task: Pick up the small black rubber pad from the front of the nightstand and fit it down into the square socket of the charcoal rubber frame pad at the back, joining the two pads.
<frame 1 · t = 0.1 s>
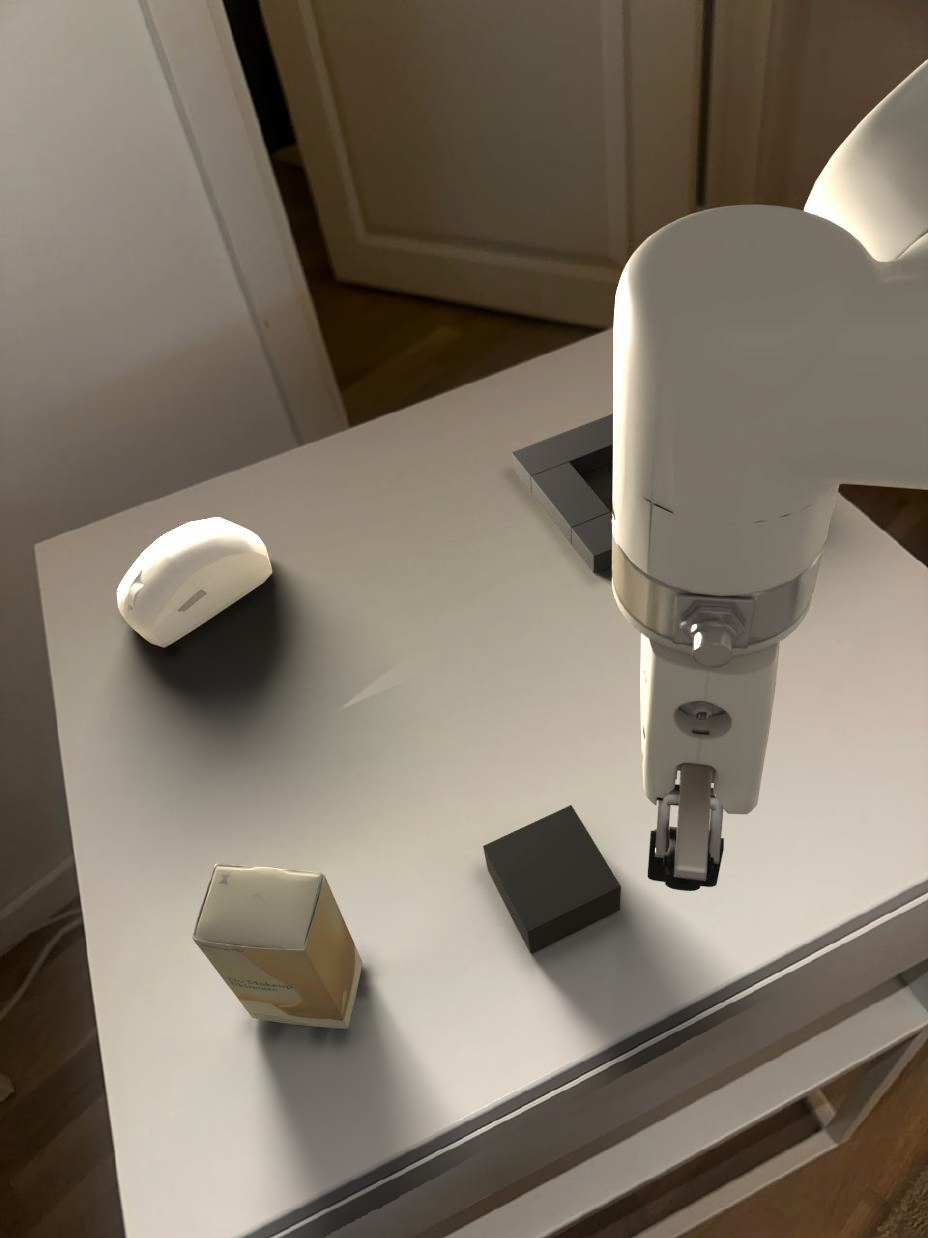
hand: (684, 789, 49), 14 cm above the nightstand, tool pointing down, fingers open, 9 cm apart
computer mouse: (203, 595, 81), on the nightstand
black pad: (552, 890, 61), on the nightstand
frame pad: (627, 488, 84), on the nightstand
cosmetic box: (311, 990, 58), on the nightstand
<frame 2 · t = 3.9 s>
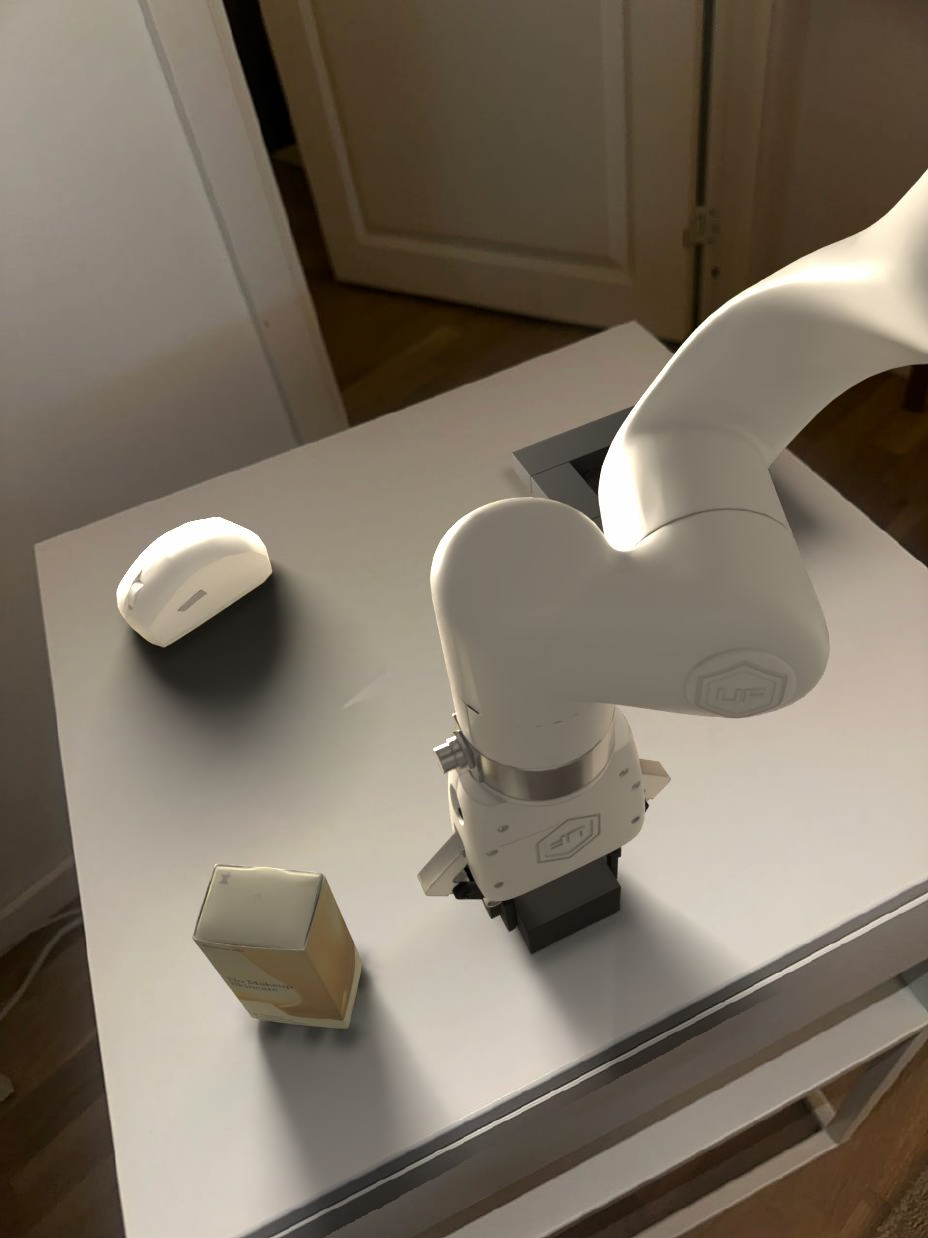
hand: (552, 884, 60), 1 cm above the nightstand, tool pointing down, fingers closed on black pad, 6 cm apart
black pad: (552, 890, 61), on the nightstand, touching gripper
everything else where it was.
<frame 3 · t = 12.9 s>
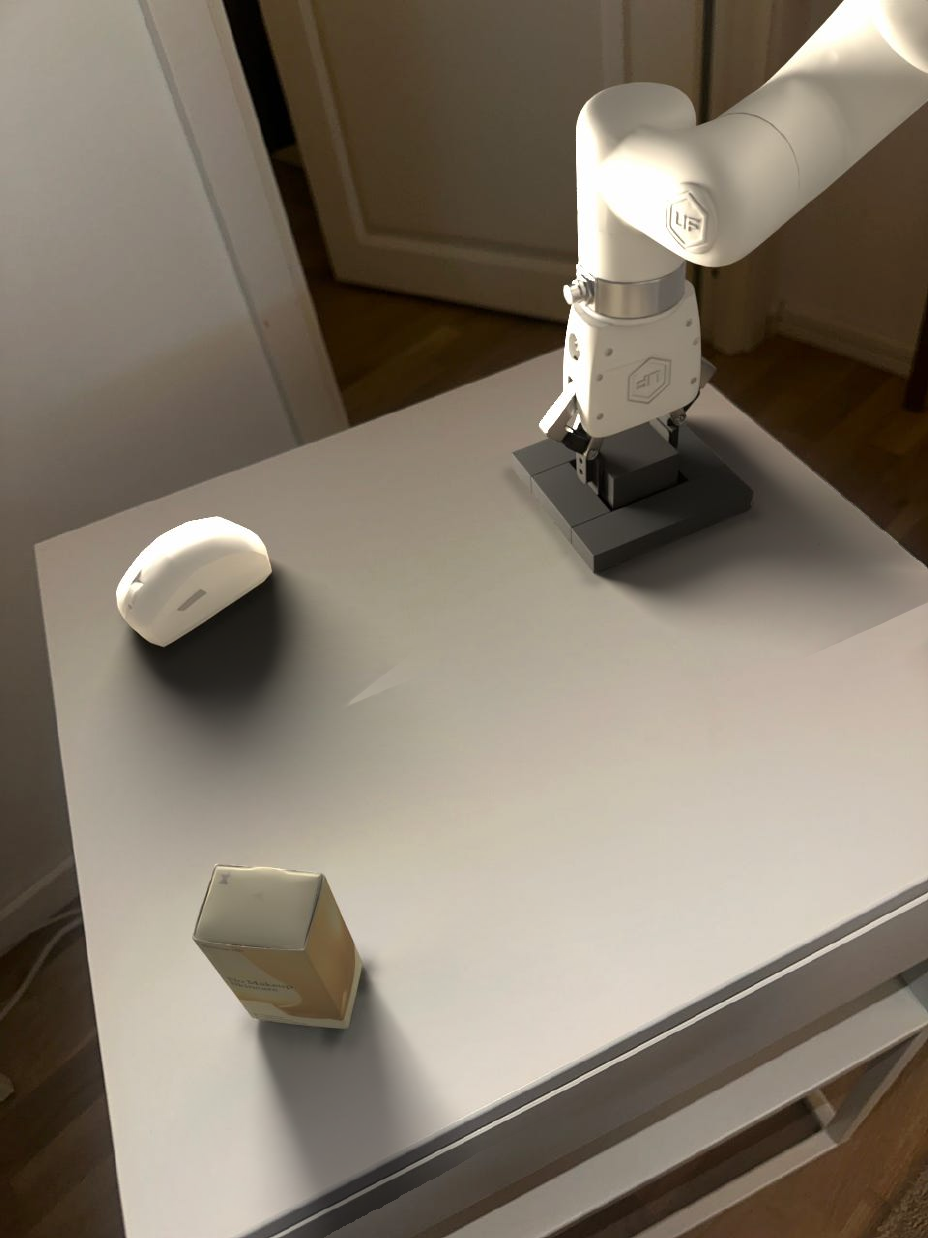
hand: (627, 468, 82), 2 cm above the nightstand, tool pointing down, fingers closed on black pad, 6 cm apart
black pad: (626, 475, 83), point 1 cm above the nightstand, touching gripper
everything else where it was.
when the fingers open (3 cm above the nightstand, at t = 18.4 s): black pad drops 2 cm, resting in frame pad.
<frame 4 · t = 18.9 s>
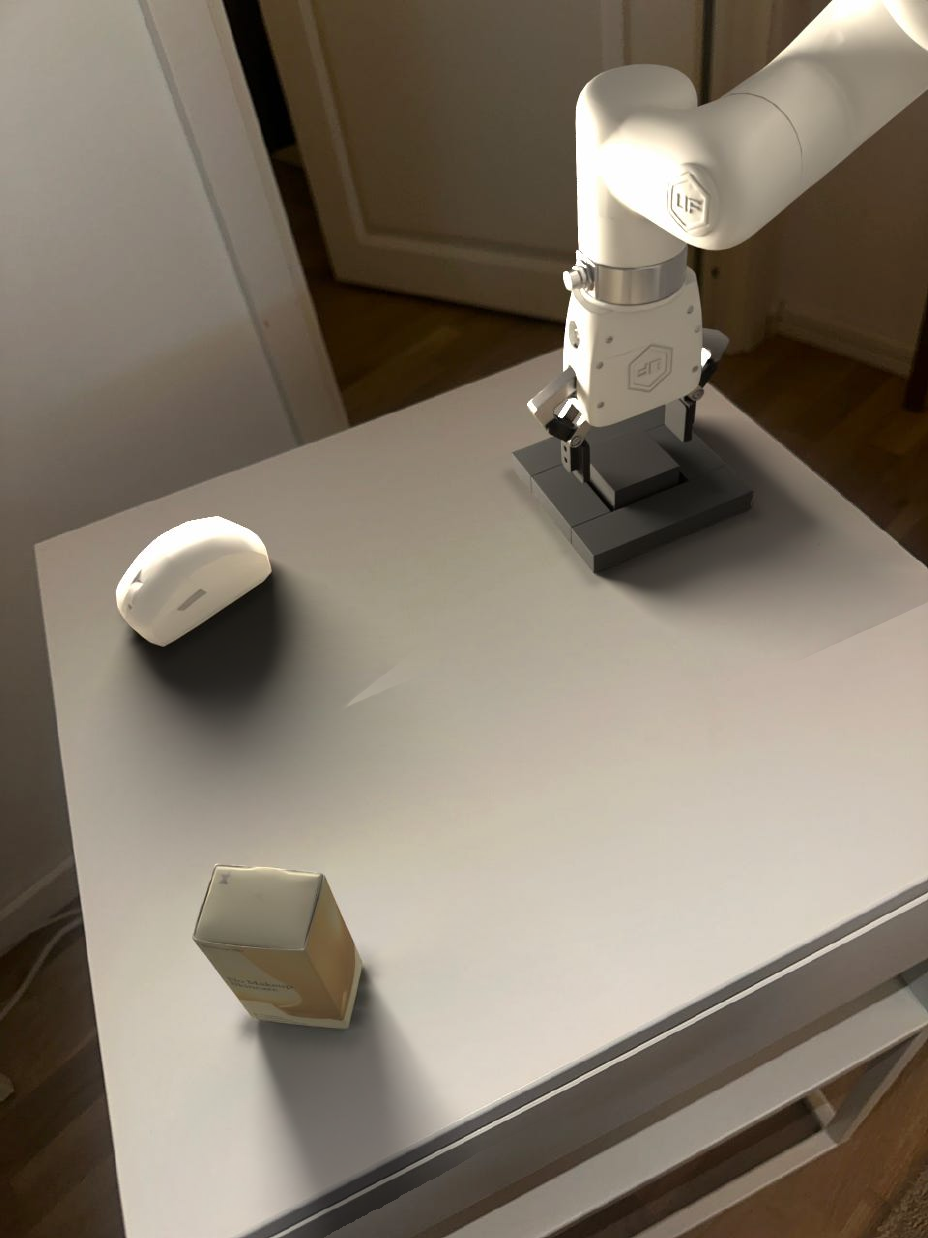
hand: (628, 452, 81), 4 cm above the nightstand, tool pointing down, fingers open, 9 cm apart
black pad: (627, 487, 84), resting in frame pad
everything else where it was.
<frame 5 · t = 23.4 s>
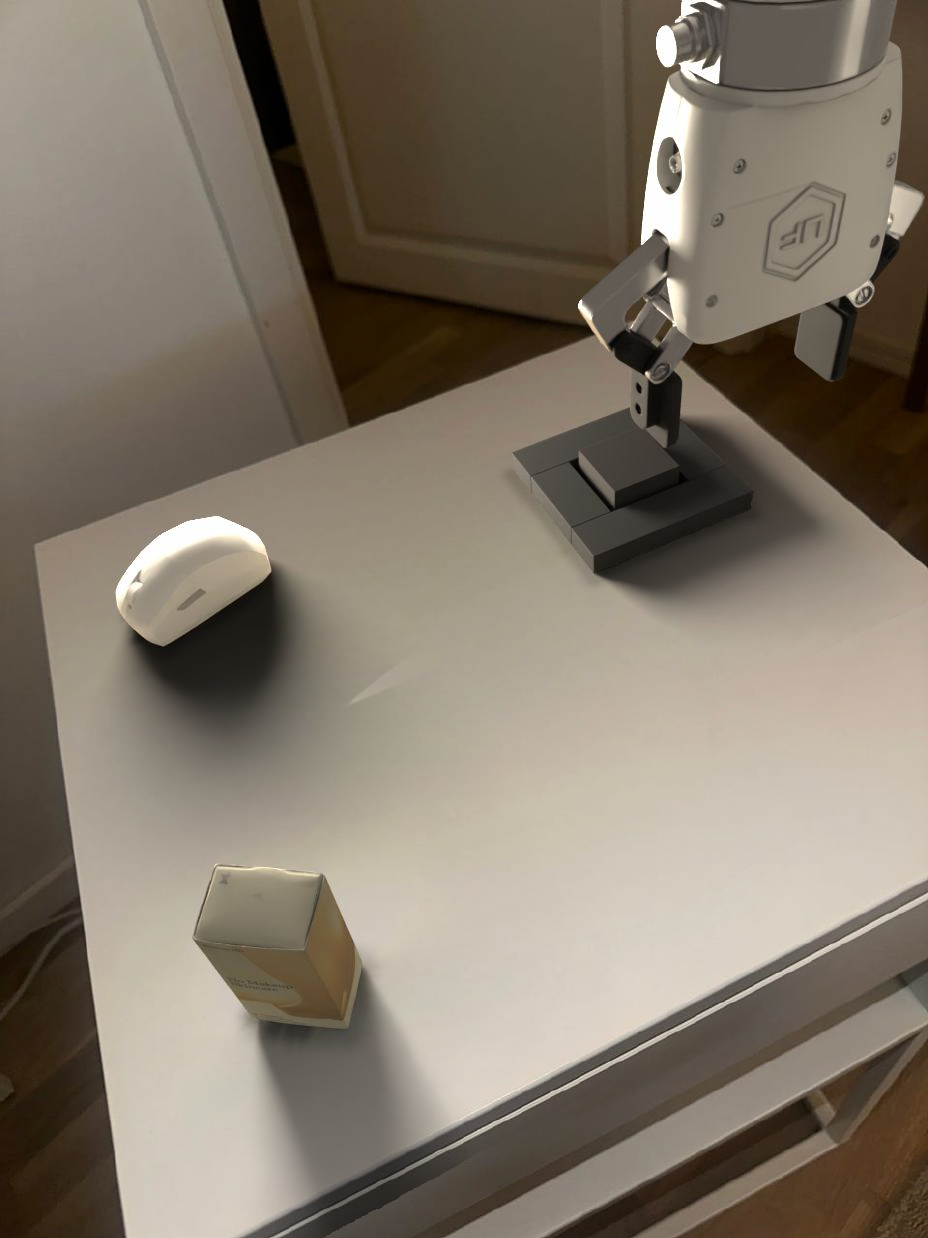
hand: (737, 398, 49), 26 cm above the nightstand, tool pointing down, fingers open, 9 cm apart
nothing on the nightstand moved.
at the end: black pad 0.0 cm off-centre on the frame pad, point 0.0 cm above the frame pad's base; black pad tilted 0°; the gripper is holding nothing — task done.
